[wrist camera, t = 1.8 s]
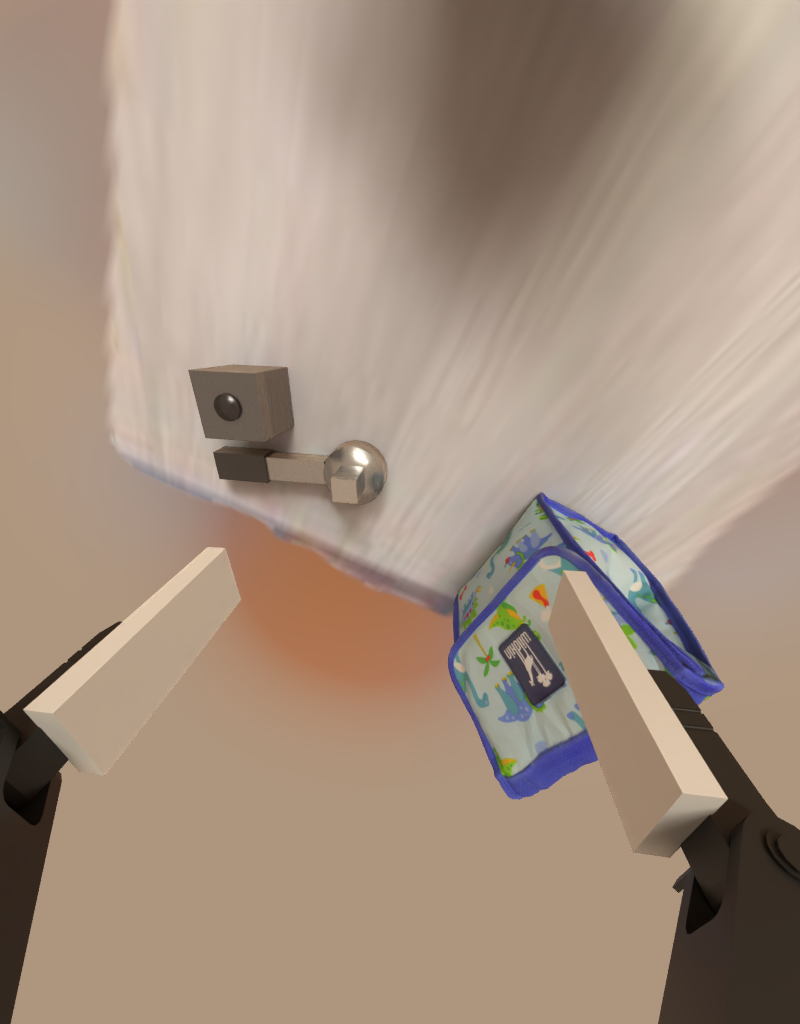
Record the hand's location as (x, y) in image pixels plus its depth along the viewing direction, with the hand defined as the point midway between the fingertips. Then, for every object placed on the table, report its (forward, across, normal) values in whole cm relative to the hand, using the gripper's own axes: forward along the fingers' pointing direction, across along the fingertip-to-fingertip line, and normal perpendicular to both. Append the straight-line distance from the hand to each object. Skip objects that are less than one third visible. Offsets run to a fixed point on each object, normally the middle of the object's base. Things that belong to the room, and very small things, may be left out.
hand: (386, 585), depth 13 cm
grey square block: (+31, -20, +2) cm, 38 cm away
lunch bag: (+32, +16, -21) cm, 41 cm away
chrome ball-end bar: (+32, -16, -7) cm, 36 cm away
